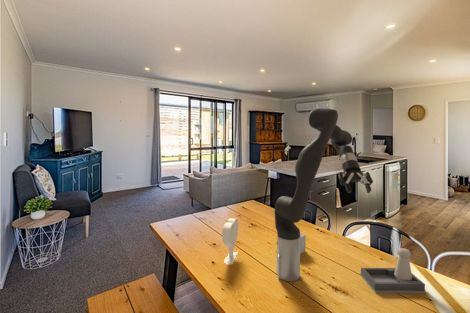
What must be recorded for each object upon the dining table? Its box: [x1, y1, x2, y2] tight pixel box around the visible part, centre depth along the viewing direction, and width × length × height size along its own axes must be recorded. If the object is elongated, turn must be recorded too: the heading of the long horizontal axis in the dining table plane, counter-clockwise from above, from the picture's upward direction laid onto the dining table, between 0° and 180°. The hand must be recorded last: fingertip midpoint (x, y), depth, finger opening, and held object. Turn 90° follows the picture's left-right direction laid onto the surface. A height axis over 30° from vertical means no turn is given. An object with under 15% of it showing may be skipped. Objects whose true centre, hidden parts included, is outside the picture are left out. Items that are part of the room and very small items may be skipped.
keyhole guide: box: [359, 267, 426, 295], centre depth 96 cm, size 18×12×3 cm, turn 87°
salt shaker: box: [394, 247, 413, 282], centre depth 96 cm, size 6×6×13 cm
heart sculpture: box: [221, 217, 239, 265], centre depth 118 cm, size 16×5×18 cm, turn 165°
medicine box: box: [300, 233, 307, 255], centre depth 122 cm, size 8×4×9 cm, turn 135°
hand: (359, 192), depth 111 cm, fingers open, 8 cm apart
